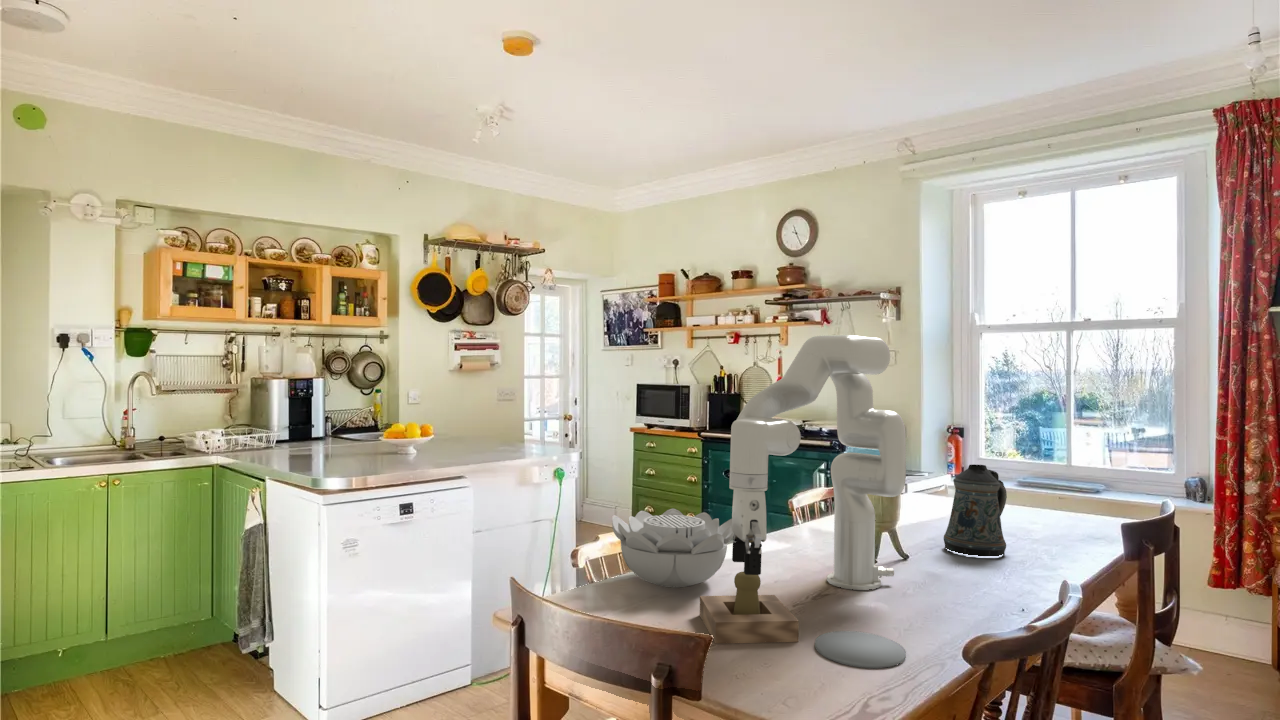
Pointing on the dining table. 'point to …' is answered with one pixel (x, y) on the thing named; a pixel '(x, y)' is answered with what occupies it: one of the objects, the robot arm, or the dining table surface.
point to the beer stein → (977, 513)
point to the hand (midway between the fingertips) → (746, 567)
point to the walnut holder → (748, 621)
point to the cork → (746, 594)
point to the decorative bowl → (673, 546)
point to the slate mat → (860, 649)
